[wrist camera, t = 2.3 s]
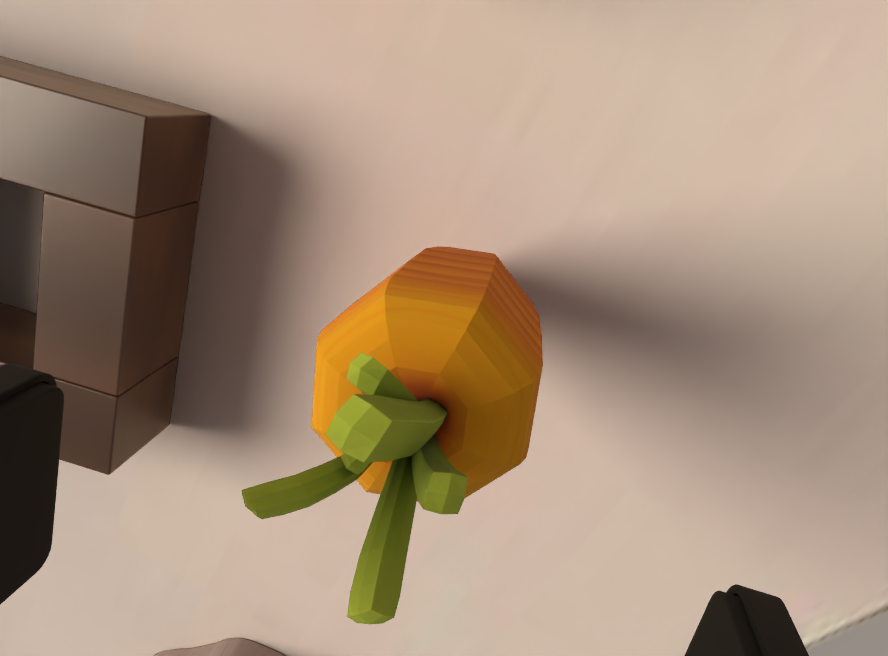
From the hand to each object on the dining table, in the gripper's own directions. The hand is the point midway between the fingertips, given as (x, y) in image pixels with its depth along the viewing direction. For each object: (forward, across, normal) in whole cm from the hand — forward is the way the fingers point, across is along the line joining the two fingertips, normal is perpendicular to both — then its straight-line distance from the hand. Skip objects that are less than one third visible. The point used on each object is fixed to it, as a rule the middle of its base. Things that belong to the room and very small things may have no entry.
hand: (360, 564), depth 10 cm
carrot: (+16, 0, -1) cm, 16 cm away
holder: (+15, +16, +2) cm, 22 cm away
